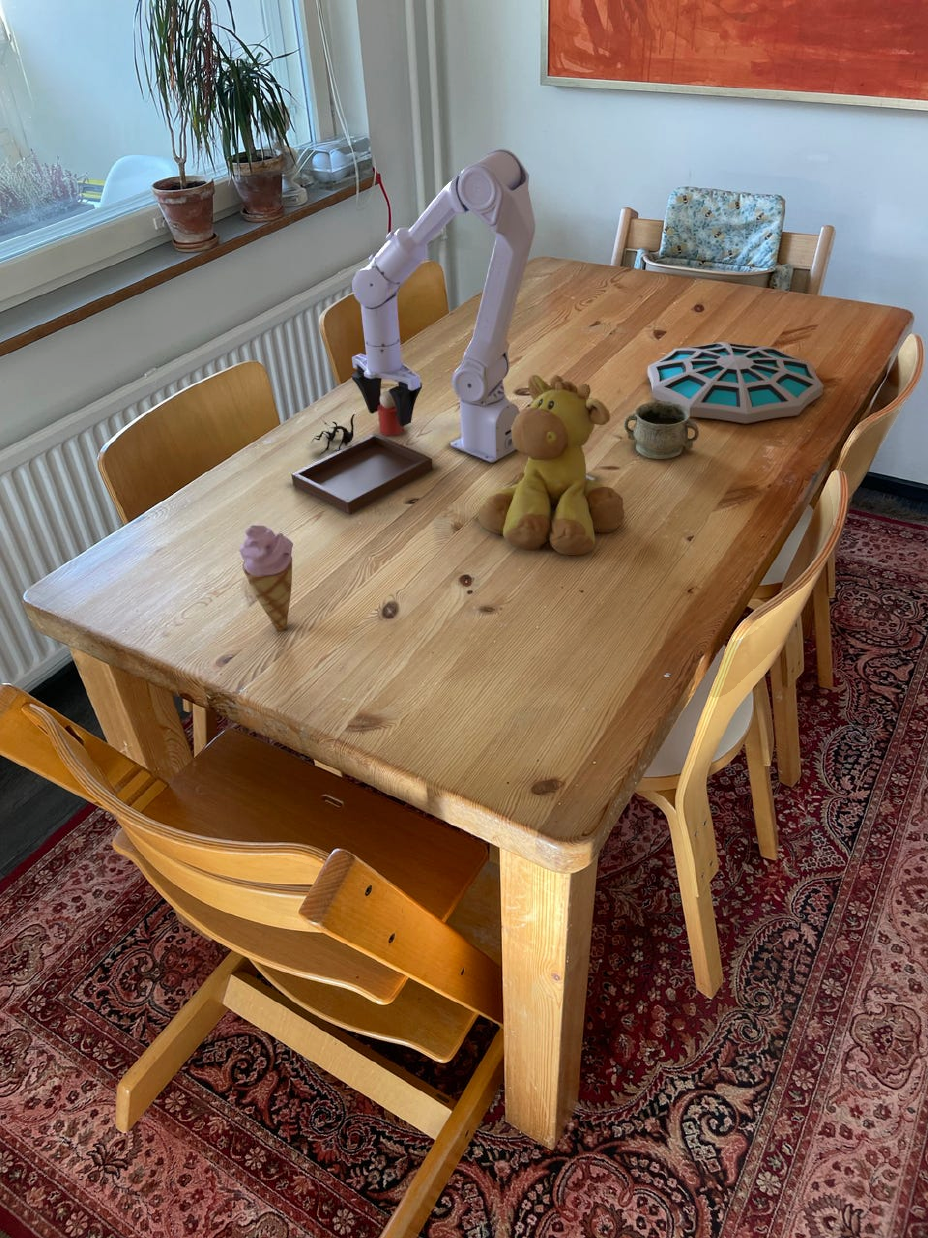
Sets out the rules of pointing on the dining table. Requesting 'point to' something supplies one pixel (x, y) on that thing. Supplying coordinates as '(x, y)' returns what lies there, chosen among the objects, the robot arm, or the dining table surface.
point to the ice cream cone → (269, 571)
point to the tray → (362, 473)
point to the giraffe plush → (554, 474)
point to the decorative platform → (735, 382)
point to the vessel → (661, 429)
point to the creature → (346, 435)
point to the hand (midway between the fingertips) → (390, 417)
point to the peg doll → (388, 415)
